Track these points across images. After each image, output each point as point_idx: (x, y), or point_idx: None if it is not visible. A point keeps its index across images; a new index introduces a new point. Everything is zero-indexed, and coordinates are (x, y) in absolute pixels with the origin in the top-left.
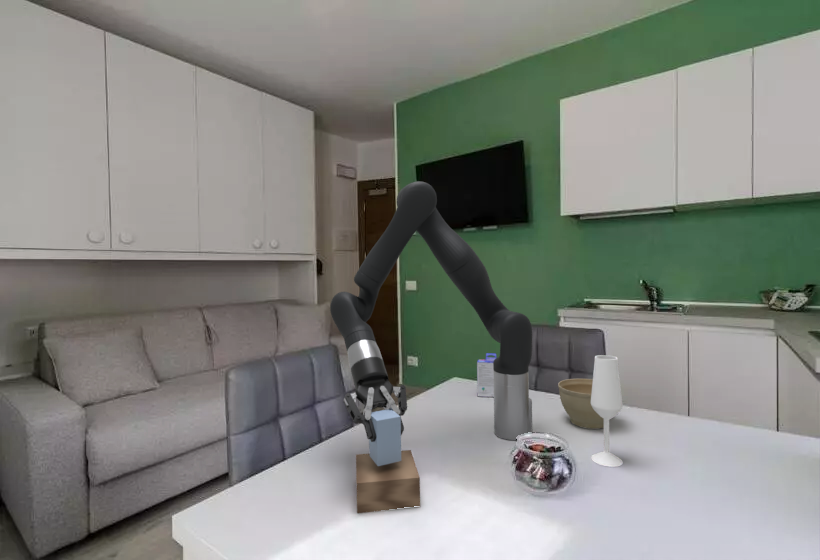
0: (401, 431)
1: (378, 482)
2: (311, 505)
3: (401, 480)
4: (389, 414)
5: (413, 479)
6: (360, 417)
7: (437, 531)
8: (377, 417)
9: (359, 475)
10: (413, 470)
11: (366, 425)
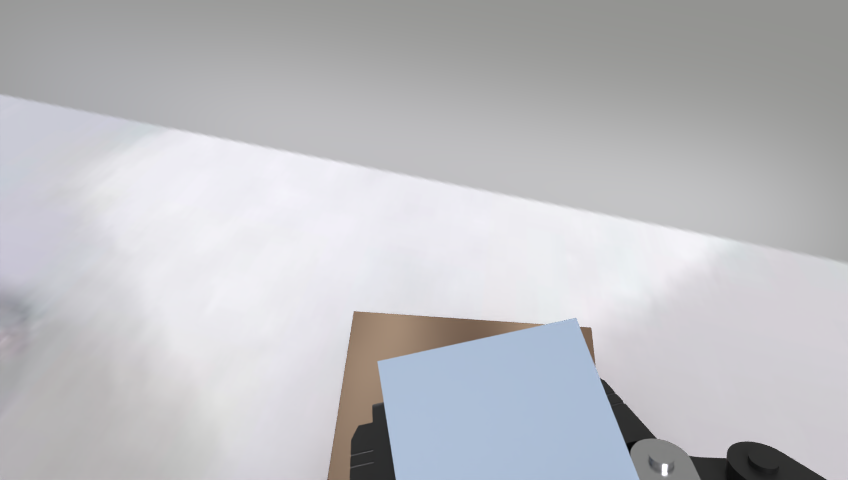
0: (380, 404)
1: (507, 322)
2: (721, 438)
3: (422, 316)
4: (462, 437)
5: (378, 313)
6: (730, 450)
7: (359, 230)
8: (572, 390)
9: None
10: (360, 371)
11: (641, 424)
